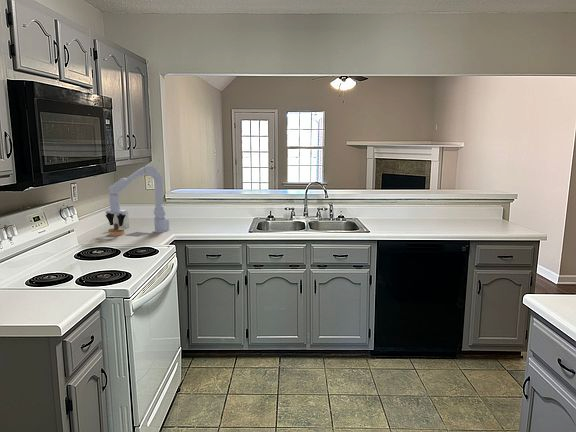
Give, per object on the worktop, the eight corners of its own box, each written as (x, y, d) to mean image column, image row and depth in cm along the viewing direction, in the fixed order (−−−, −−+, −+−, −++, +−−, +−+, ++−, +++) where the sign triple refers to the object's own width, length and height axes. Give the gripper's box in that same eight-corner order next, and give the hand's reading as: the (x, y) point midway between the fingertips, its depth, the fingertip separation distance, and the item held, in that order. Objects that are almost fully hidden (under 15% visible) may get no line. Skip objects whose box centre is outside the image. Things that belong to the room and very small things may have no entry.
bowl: (116, 233, 290) (116, 228, 290) (127, 234, 287) (127, 229, 286) (106, 235, 282) (105, 231, 282) (117, 236, 279) (117, 232, 278)
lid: (117, 228, 290) (116, 221, 290) (127, 229, 286) (127, 223, 285) (105, 231, 282) (104, 224, 281) (115, 232, 278) (115, 225, 277)
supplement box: (129, 227, 309) (128, 209, 307) (124, 229, 302) (123, 211, 300) (119, 227, 310) (118, 209, 308) (114, 229, 303) (112, 211, 301)
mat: (136, 232, 292) (136, 231, 291) (149, 233, 287) (149, 233, 287) (124, 235, 282) (124, 235, 282) (137, 237, 277) (137, 236, 277)
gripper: (101, 204, 281) (102, 225, 283) (118, 205, 275) (120, 227, 277) (109, 203, 287) (111, 223, 289) (127, 204, 281) (128, 225, 284)
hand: (116, 225), depth 284 cm, fingers open, 7 cm apart
